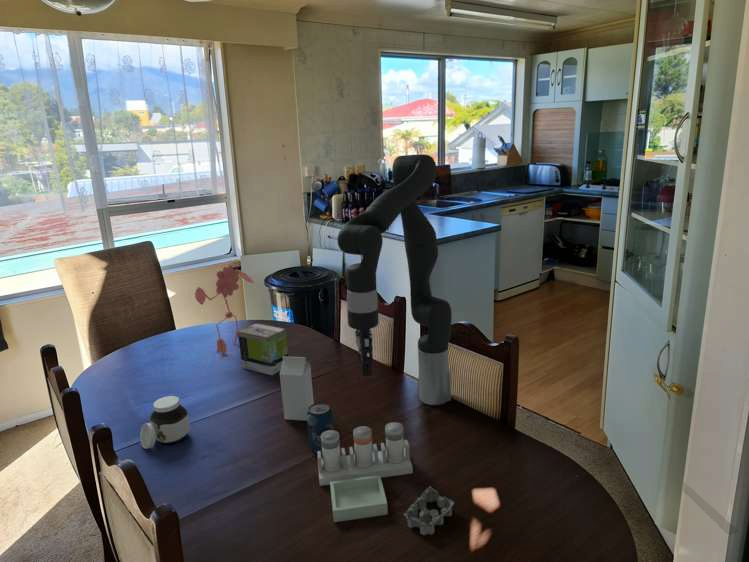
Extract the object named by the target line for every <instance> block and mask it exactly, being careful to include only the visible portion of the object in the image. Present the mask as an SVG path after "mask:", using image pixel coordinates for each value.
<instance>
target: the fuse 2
mask: <svg viewBox="0 0 749 562" xmlns="http://www.w3.org/2000/svg"><path fill="white" fill-rule="evenodd" d="M384 433H385V434H384V436H385V449H386V452H387V461H388V462H389V463H391V464H399V463H402V462H403V461H404V440H405V439H404V437H405V435H404V434H405V433H404V425H403V424H402V423H400V422H397V421H396V422H395V421H394V422H388V423H387V424H385V427H384Z"/></svg>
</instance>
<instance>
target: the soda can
mask: <svg viewBox="0 0 749 562" xmlns="http://www.w3.org/2000/svg"><path fill="white" fill-rule="evenodd" d="M306 423H307V424H306V425H307V433H308V445H309V447H310V449H311V450H312V451H313V453H316V454H317V451H321V455H322V446H321V434H322V433H323V432H325V431H328V430H334V431H335V425H334V415H333V410H332V409H331V407H330V405H329V404H328V403H325V402H317V403H314V404H313V405H311V406H310V407H309V409H308V413H307V421H306Z"/></svg>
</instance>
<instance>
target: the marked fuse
mask: <svg viewBox="0 0 749 562" xmlns="http://www.w3.org/2000/svg"><path fill="white" fill-rule="evenodd" d="M352 432H353V435H352V436H353V439H352V440H353V444H354V445H353V447H354V449H353V450H354V454H355V464H356V466H357V467H359V468H368V467H370V466H372V464H373V454H372V452H373V436H372V435H373V434H372V429H371V428H370V427H369V426H365V425H364V426H363V425H362V426H358V427H356V428H354V429H353V430H352Z"/></svg>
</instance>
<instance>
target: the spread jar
mask: <svg viewBox="0 0 749 562" xmlns="http://www.w3.org/2000/svg"><path fill="white" fill-rule="evenodd" d="M152 405H153V411H152V412H151V413H150V416H149V423H148V422H146V423H143V425H142V426H141V429H140V432H139V433H140V435H139V439H140V440H139V441H140V443H141V444H140V445H141V447H142V448H143V449H148V450H149V449H152V448H153V447H154V445H155V443H156V442H158V443H159V444H161V445H166V446H170V445H171V446H172V445H176V444H178V443H180V442H181V441H183V440H184V439H185V438H186V437H187V436H188V434H189V433H190V431H191V423H190V416H189V413H188V411H187V409H186V408H185V407H184V406H183V405H182V404H180V398H179V397H177V396H175V395H169V396H164V397H161V398H158V399H157V400H155V401H154V403H153V404H152ZM146 445H147V446H148V447H147V446H146Z"/></svg>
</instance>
